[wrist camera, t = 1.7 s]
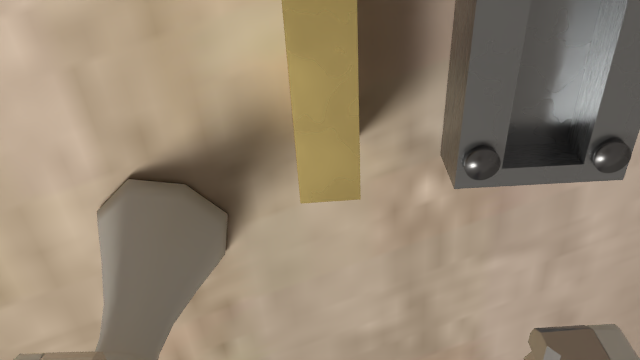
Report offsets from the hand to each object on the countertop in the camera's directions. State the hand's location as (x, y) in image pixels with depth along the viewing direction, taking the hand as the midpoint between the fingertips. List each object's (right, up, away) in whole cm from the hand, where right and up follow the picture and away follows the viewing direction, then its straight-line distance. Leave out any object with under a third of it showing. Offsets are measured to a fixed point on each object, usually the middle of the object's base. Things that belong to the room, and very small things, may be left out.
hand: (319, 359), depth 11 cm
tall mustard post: (0, +10, +14) cm, 18 cm away
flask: (-9, +1, +20) cm, 22 cm away
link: (+10, +9, +16) cm, 20 cm away
